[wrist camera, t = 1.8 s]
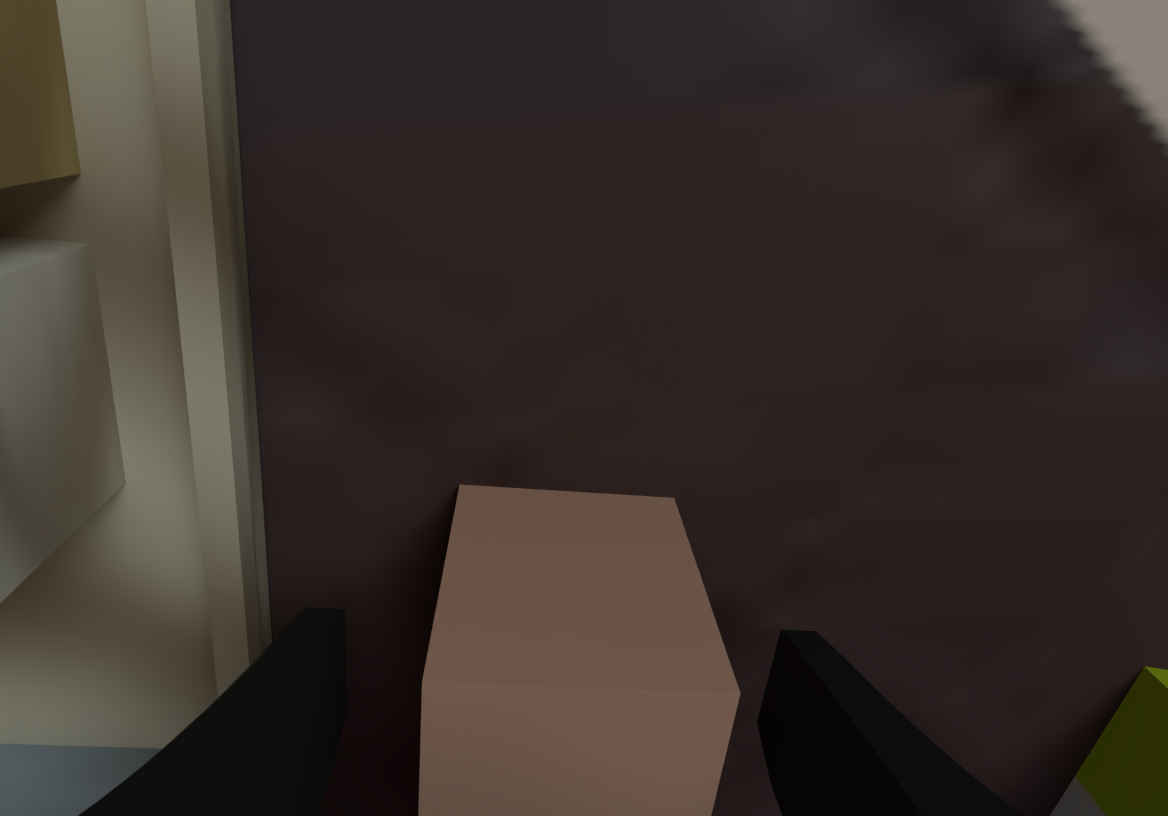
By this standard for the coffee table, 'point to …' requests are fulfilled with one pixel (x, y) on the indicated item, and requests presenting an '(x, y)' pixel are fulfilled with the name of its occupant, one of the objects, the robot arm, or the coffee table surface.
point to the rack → (121, 392)
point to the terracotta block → (572, 662)
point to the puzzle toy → (1127, 758)
